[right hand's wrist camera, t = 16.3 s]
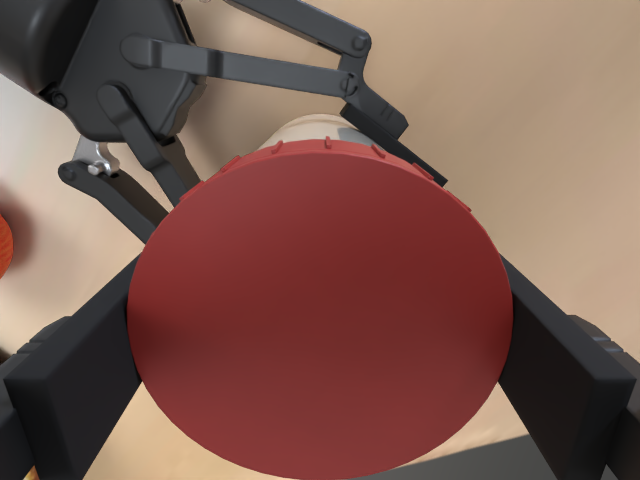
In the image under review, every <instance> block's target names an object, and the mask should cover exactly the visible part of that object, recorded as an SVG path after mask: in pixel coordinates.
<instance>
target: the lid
mask: <svg viewBox="0 0 640 480" xmlns="http://www.w3.org/2000/svg"><path fill="white" fill-rule="evenodd" d="M433 179H434V177H433V176H431V175H430V174H429V173H427V172H426V171H425V170H424V169H422V168H421V167H420V166H418V165H417V164H416V163H413V164H412V165H411V164H409V163H408V162H406V161H405V160H403V159H400V158H398V157H396V156H394V155H392V154H390V153H388V152H386V151H383V150H380V149H379V148H378V147H377V146H376V145H375V144H372V146H371V147H370V146H367V145H364V144H360V143H354V142H348V141H342V140H330V136H326V139H309V140H299V141H290V142H285V143H283V140H280V141H278V142H277V144H276V145H273V146H269V147H265V148H263V149H260V150H258V151H255V152H253V153H250V154H248V155H245V156H243V157H241V158H240V156H239V155H238V156H236V157H235V158H234V159H232V160H231V161H230V162H229V163H227V164H226V165H225V166H224V167H222V168H221V170H220V171H219V172H217V173H216V174H215V175H213V176H212V177H211V178H210V179H208V180H207V181H206V182H204V181H201V182H200V183H199V184H197V185H196V186H195V187H193V188H192V189H191V190H189V191H188V192H187V193H186V194H184V195H183V196H182V197H181V198H180V199H179V200H181V202H180V203H179V204H178V205H177V206H176V207H175V208H174V209H173V210H172V211H171V212H170V213H169V214H168V215H167V216H166V217H165V218H164V219H163V220H162V221H161V223H160V224H159V226H158V227H157V228H156V230H155V231H154V232H153V233H152V234H151V236H150V238H149V240H148V241H147V243H146V245H145V247H144V249H143V251H142V253H141V255H140V257H139V259H138V261H137V264H136V267H135V270H134V273H133V277H132V280H131V283H130V288H129V295H128V302H127V331H128V337H129V343H130V348H131V352H132V356H133V359H134V362H135V365H136V368H137V371H138V373H139V375H140V377H141V379H142V381H143V383H144V385H145V387H146V389H147V390H148V392H149V393H150V395H151V396H152V398H153V399H154V401H155V402H156V404H157V405H158V407H159V408H160V409H161V410H162V411H163V412H164V414H165V415H166V416H167V417H168V418H169V419H170V420H171V422H172V423H174V424H175V425H176V426H177V427H178V428H179V429H180V430H181V431H183V432H184V433H185V434H186V435H187V436H188V437H190V438H191V439H192V440H194V441H195V442H197V443H198V444H199V445H201V446H202V447H204V448H205V449H207V450H209V451H211V452H212V453H214V454H216V455H218V456H220V457H221V458H223V459H226V460H228V461H230V462H232V463H235V464H237V465H239V466H242V467H245V468H248V469H251V470H254V471H257V472H260V473H264V474H269V475H273V476H278V477H283V478H291V479H300V480H340V479H350V478H356V477H362V476H368V475H372V474H375V473H379V472H383V471H387V470H390V469H392V468H395V467H398V466H400V465H403V464H406V463H408V462H410V461H412V460H414V459H416V458H418V457H420V456H422V455H424V454H426V453H428V452H430V451H431V450H433V449H434V448H436V447H438V446H439V445H441V444H442V443H444V442H445V441H446V440H448V439H449V438H450V437H451V436H453V435H454V434H455V433H456V432H458V431H459V430H460V429H461V428H462V427H463V426H464V425H465V424H466V423H467V422H468V421H469V420H470V419H471V418H472V417H473V416H474V415H475V414H476V413H477V411H478V410H479V409H480V408H481V406H482V405H483V404H484V402H485V401H486V400H487V399H488V397H489V395H490V393H491V392H492V390H493V388H494V387H495V385H496V383H497V381H498V380H499V377H500V375H501V372H502V370H503V367H504V365H505V363H506V360H507V356H508V352H509V347H510V343H511V338H512V328H513V304H512V294H511V289H510V285H509V280H508V276H507V273H506V270H505V268H504V265H503V263H502V260H501V258H500V255H499V253H498V251H497V249H496V247H495V246H494V244H493V242H492V241H491V239H490V237H489V236H488V234H487V232H486V231H485V229H484V228H483V227H482V226H481V225H480V223H479V222H478V221H477V220H476V219H475V217H474V216H473V215H472V214H471V213H470V212H471V211H472V210H471V209H470V208H469V207H468V206H466V205H465V204H464V203H463V202H461V201H460V200H459V199H458V198H456V197H455V196H454V195H453V194H451V193H450V192H449V191H446V190H444V189H443V188H442V187H441V186H439V185H438V184H437V183H436V182H434V181H433Z"/></svg>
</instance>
